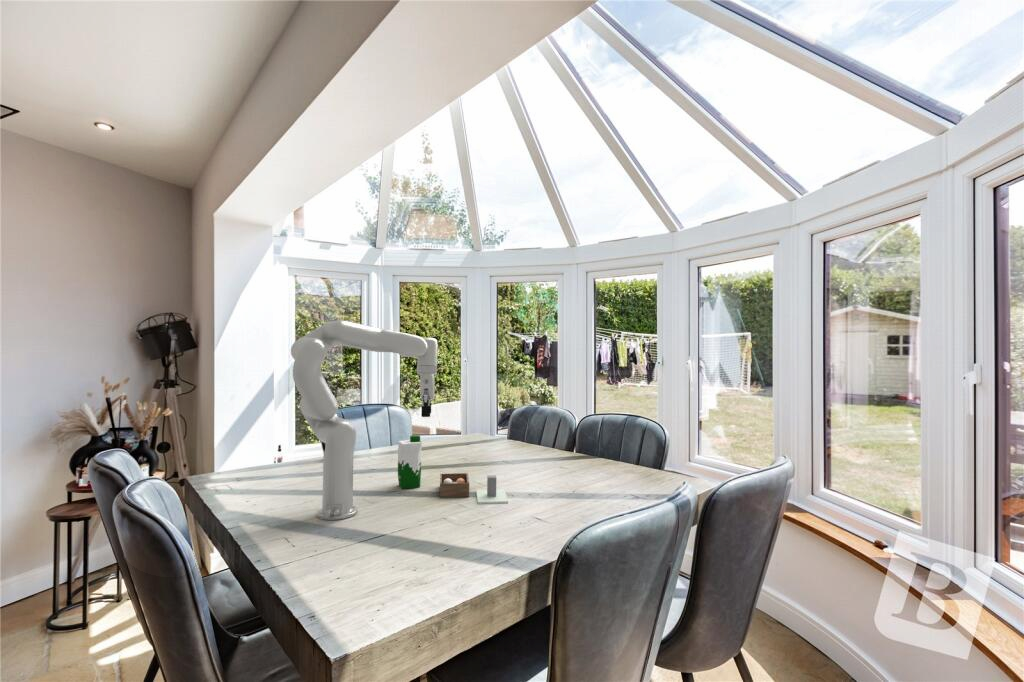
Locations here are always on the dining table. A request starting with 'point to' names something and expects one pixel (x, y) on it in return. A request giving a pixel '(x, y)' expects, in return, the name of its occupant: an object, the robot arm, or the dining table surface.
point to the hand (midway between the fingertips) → (426, 415)
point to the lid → (491, 493)
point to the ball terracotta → (460, 480)
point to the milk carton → (409, 462)
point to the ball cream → (447, 481)
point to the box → (454, 485)
